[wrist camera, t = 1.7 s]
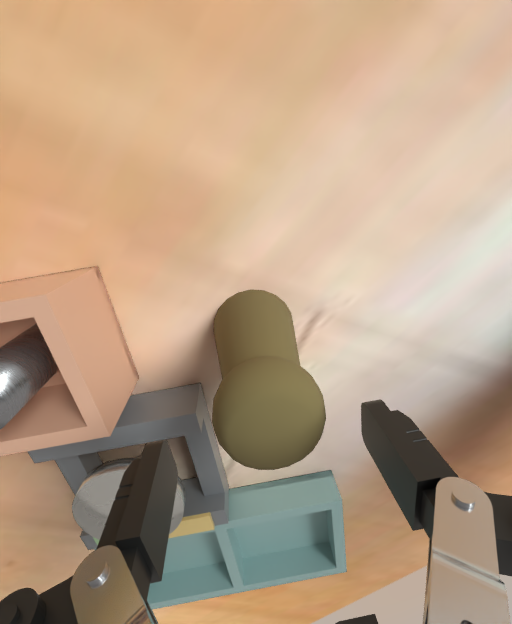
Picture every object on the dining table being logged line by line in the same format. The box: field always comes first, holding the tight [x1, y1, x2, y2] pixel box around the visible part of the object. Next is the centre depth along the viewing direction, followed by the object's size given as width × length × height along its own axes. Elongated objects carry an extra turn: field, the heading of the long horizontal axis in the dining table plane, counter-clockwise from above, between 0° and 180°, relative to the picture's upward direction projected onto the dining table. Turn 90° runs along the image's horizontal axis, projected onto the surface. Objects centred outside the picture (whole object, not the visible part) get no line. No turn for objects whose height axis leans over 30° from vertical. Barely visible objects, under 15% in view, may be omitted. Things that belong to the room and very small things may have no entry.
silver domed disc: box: [72, 456, 186, 540], centre depth 23 cm, size 8×8×4 cm
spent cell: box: [0, 323, 59, 429], centre depth 17 cm, size 3×3×7 cm
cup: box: [0, 266, 139, 456], centre depth 18 cm, size 9×9×6 cm
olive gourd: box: [212, 290, 326, 470], centre depth 17 cm, size 6×6×11 cm
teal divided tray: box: [94, 470, 347, 609], centre depth 29 cm, size 22×11×3 cm, turn 99°
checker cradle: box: [27, 383, 229, 550], centre depth 24 cm, size 12×12×4 cm
